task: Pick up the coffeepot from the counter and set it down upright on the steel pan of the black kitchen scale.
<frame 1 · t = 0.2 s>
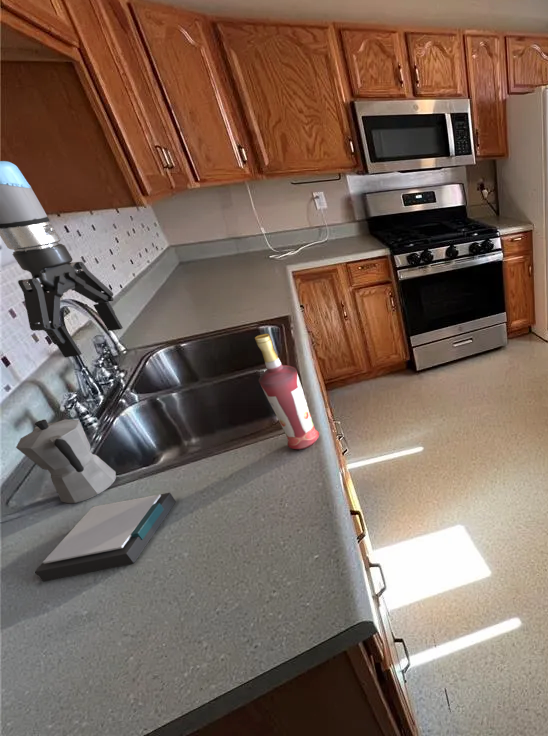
hand: (96, 341, 92), 27 cm above the worktop, tool pointing down, fingers open, 13 cm apart
coffeepot: (92, 489, 89), on the worktop
liquor: (305, 443, 97), on the worktop
scale: (115, 538, 77), on the worktop
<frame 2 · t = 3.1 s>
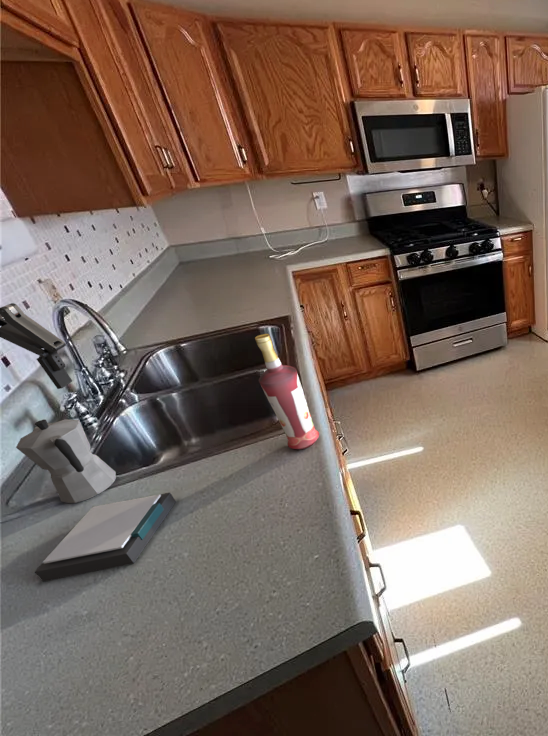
hand: (25, 391, 78), 25 cm above the worktop, tool pointing down, fingers open, 13 cm apart
nothing on the worktop moved.
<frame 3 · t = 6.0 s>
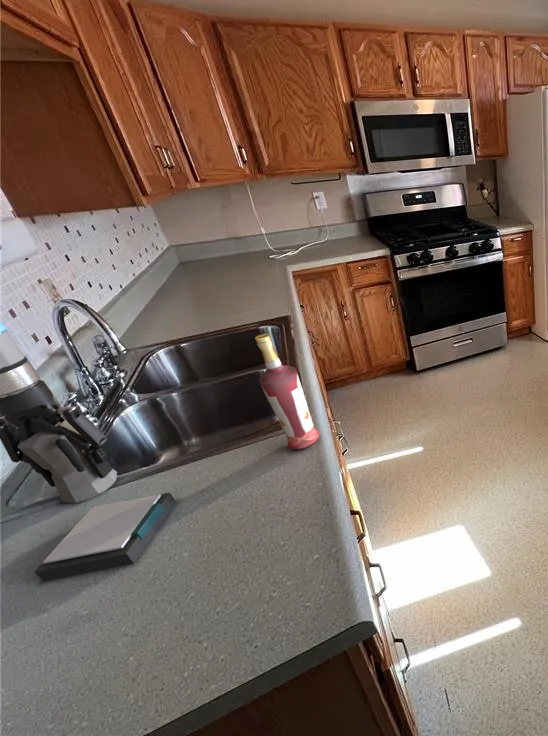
hand: (82, 477, 87), 3 cm above the worktop, tool pointing down, fingers closed on coffeepot, 8 cm apart
coffeepot: (93, 489, 89), on the worktop, touching gripper
everything else where it was.
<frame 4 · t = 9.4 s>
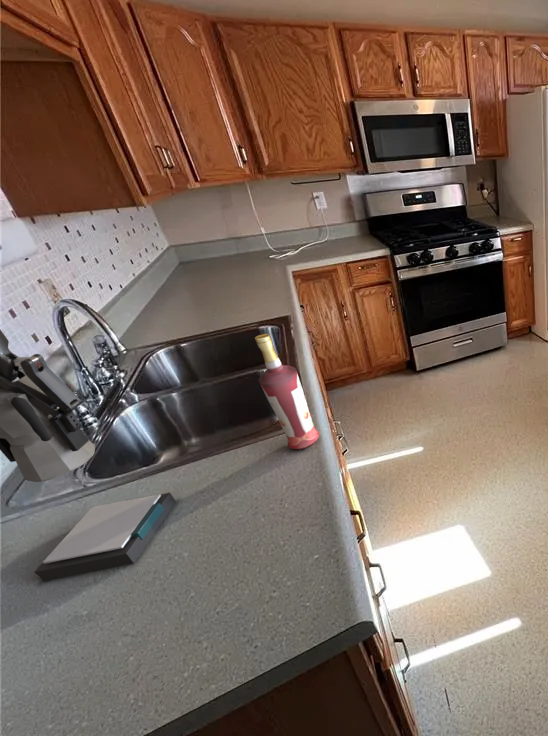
hand: (50, 450, 70), 19 cm above the worktop, tool pointing down, fingers closed on coffeepot, 8 cm apart
coffeepot: (65, 466, 72), point 16 cm above the worktop, touching gripper
everything else where it was.
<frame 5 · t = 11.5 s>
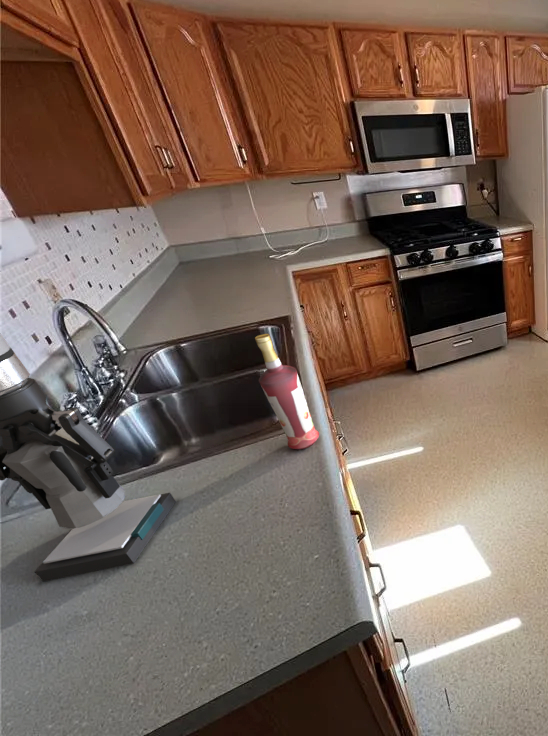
hand: (83, 497, 72), 11 cm above the worktop, tool pointing down, fingers closed on coffeepot, 8 cm apart
coffeepot: (97, 511, 74), point 7 cm above the worktop, touching gripper
everything else where it was.
when the fingers open (7 cm above the worktop, at t = 12.9 s): coffeepot stays where it is, resting on scale.
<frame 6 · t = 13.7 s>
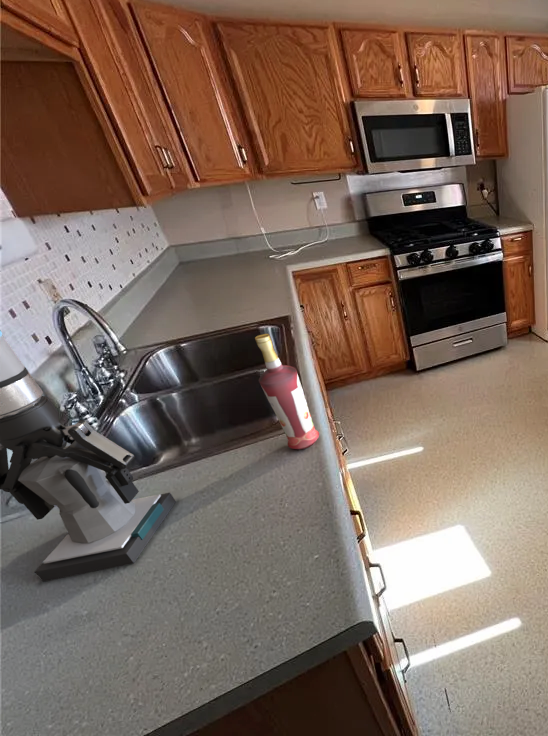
hand: (89, 505, 73), 9 cm above the worktop, tool pointing down, fingers open, 13 cm apart
coffeepot: (108, 525, 75), point 3 cm above the worktop, touching scale
everything else where it was.
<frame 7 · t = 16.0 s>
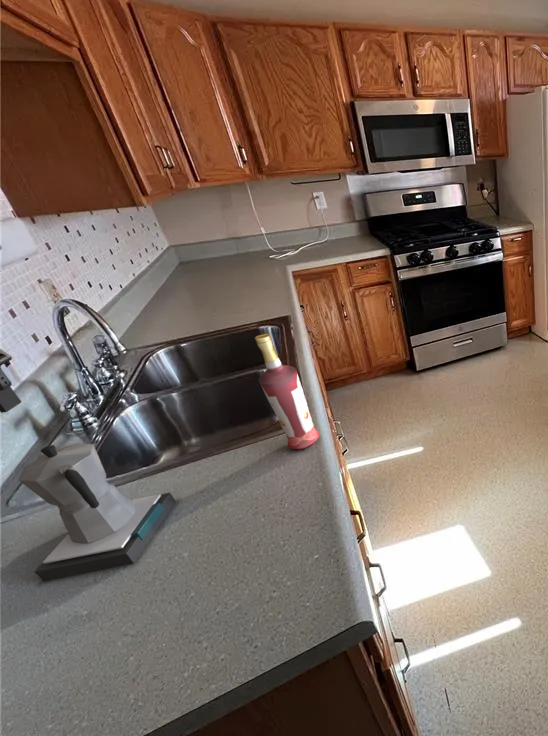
nothing on the worktop moved.
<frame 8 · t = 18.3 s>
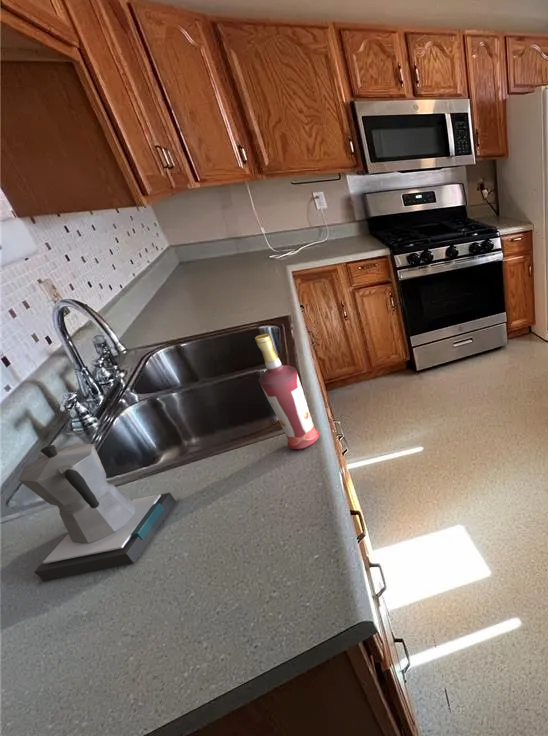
nothing on the worktop moved.
at the end: coffeepot inside the target area on the scale (0.4 cm from its centre), point 3.2 cm above the scale's base; coffeepot tilted 0°; the gripper is holding nothing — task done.
